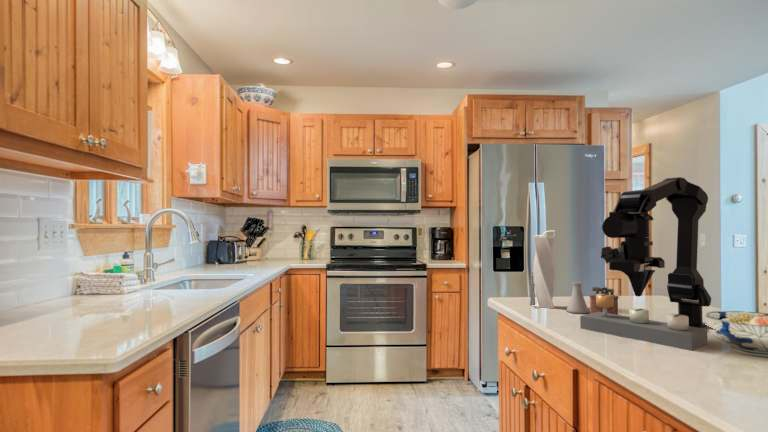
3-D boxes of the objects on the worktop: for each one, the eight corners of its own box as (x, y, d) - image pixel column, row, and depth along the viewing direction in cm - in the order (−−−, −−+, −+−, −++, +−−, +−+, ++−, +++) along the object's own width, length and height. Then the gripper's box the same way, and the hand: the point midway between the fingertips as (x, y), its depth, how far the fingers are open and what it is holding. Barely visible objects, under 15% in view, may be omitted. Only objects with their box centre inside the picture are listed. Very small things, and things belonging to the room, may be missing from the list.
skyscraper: (553, 305, 156) (551, 230, 156) (560, 310, 148) (558, 230, 148) (529, 305, 156) (528, 230, 157) (535, 309, 148) (534, 230, 149)
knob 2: (671, 338, 108) (671, 312, 108) (692, 342, 104) (691, 315, 104) (664, 341, 105) (663, 314, 105) (685, 345, 101) (684, 317, 102)
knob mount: (598, 323, 126) (598, 311, 126) (707, 343, 104) (707, 329, 104) (580, 328, 120) (580, 315, 120) (691, 350, 98) (691, 335, 98)
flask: (592, 314, 138) (591, 284, 139) (568, 313, 140) (568, 283, 140) (586, 310, 146) (585, 281, 146) (563, 309, 147) (563, 280, 147)
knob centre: (634, 331, 115) (634, 307, 115) (652, 335, 111) (651, 309, 111) (626, 334, 112) (626, 309, 113) (644, 337, 109) (644, 311, 109)
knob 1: (601, 315, 122) (600, 292, 123) (616, 318, 119) (616, 294, 119) (593, 317, 120) (592, 294, 120) (609, 320, 116) (608, 296, 116)
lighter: (619, 319, 131) (618, 287, 131) (618, 321, 128) (617, 288, 128) (590, 316, 135) (589, 285, 135) (589, 318, 132) (588, 286, 132)
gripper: (622, 236, 124) (623, 289, 124) (588, 237, 114) (589, 295, 113) (664, 237, 115) (666, 294, 115) (632, 238, 105) (633, 301, 104)
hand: (638, 296), depth 112 cm, fingers closed
